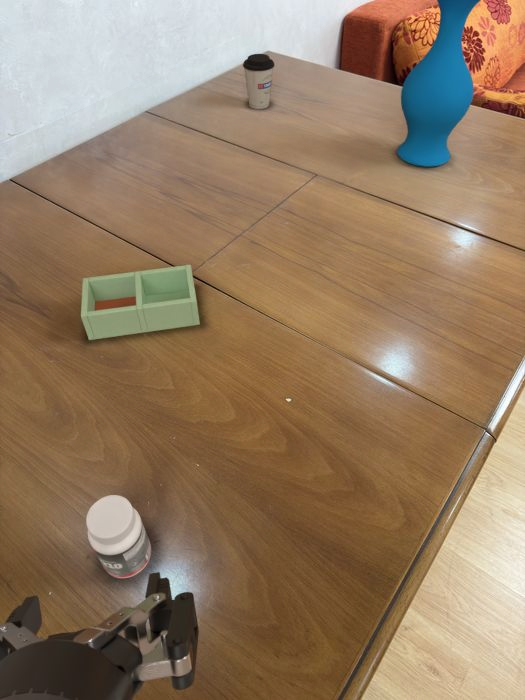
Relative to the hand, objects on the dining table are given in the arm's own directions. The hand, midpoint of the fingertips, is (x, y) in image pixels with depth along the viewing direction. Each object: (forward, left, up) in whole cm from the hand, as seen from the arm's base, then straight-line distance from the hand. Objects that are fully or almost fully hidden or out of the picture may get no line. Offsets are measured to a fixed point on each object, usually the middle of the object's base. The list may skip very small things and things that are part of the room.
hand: (96, 596), depth 38 cm
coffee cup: (+32, +108, -12) cm, 113 cm away
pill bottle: (0, +8, -12) cm, 14 cm away
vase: (+59, +77, -12) cm, 98 cm away
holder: (+3, +42, -12) cm, 44 cm away
